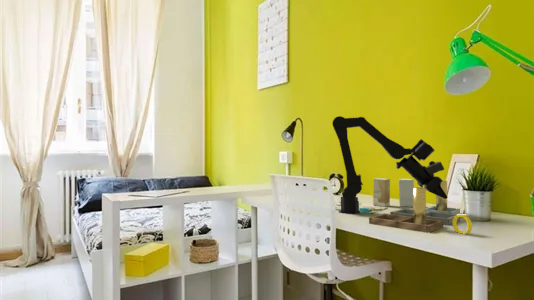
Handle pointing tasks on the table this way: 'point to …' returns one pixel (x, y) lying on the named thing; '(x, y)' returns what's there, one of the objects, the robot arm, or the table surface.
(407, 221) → the tray
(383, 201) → the skincare box
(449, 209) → the tray
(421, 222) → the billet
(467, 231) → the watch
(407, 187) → the skincare box
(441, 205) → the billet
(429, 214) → the tray
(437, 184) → the robot arm
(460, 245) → the table surface
